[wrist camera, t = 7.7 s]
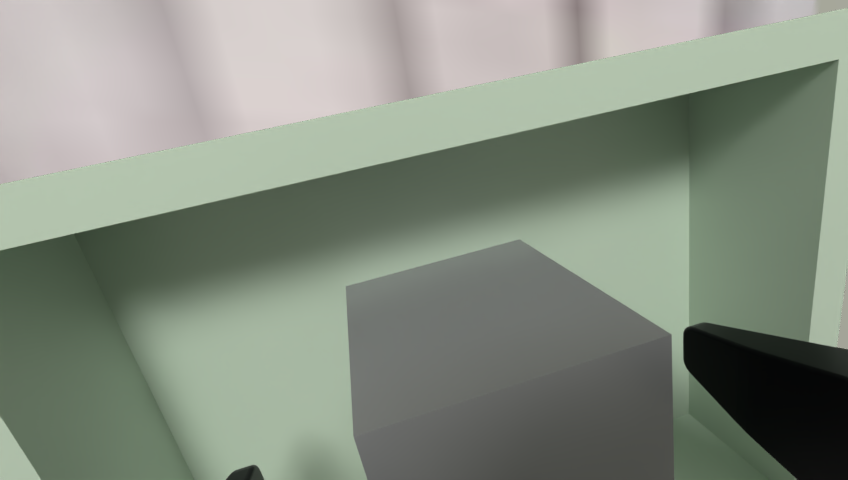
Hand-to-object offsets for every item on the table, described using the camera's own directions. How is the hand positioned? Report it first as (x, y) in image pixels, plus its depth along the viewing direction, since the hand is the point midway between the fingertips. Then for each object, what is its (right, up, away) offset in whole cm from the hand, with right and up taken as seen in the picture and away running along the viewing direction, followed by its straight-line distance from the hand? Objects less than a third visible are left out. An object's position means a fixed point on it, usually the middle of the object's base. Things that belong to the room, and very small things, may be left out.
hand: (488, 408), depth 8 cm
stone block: (-1, +1, +3) cm, 3 cm away
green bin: (-1, +1, +3) cm, 4 cm away
